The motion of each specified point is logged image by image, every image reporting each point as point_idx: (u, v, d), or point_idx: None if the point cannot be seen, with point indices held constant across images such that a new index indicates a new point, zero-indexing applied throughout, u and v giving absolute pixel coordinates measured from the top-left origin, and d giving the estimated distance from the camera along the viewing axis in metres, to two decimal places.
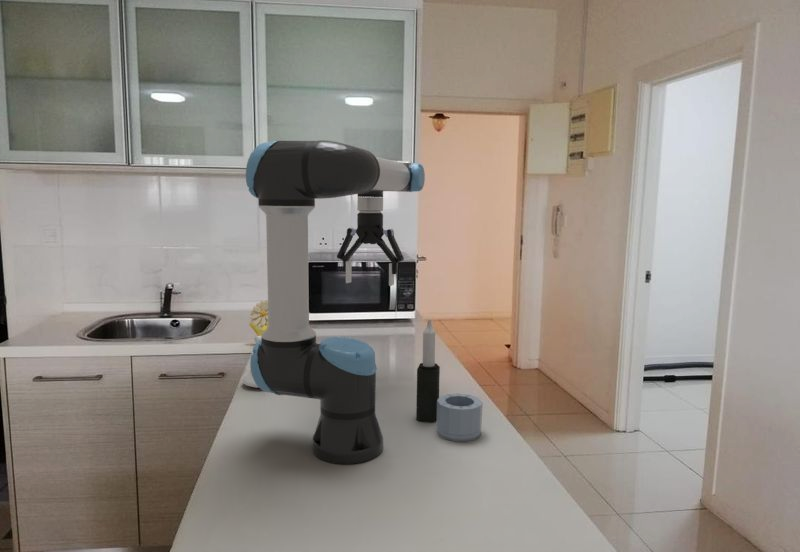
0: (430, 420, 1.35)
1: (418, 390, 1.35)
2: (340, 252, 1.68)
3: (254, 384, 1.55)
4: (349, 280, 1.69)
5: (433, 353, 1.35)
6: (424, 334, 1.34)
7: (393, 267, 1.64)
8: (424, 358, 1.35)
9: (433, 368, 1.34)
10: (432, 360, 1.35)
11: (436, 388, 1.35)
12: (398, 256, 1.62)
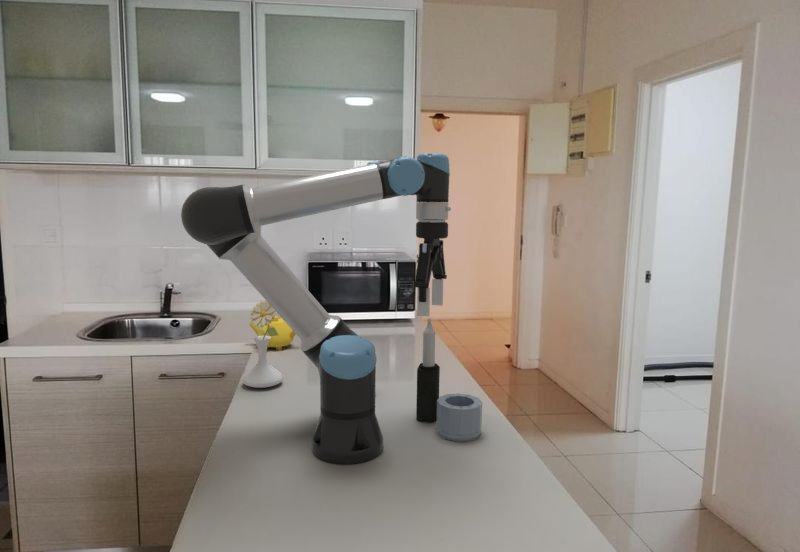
0: (430, 420, 1.35)
1: (418, 390, 1.35)
2: None
3: (254, 384, 1.55)
4: (436, 302, 1.41)
5: (433, 353, 1.35)
6: (424, 334, 1.34)
7: None
8: (424, 358, 1.35)
9: (433, 368, 1.34)
10: (432, 360, 1.35)
11: (436, 388, 1.35)
12: None
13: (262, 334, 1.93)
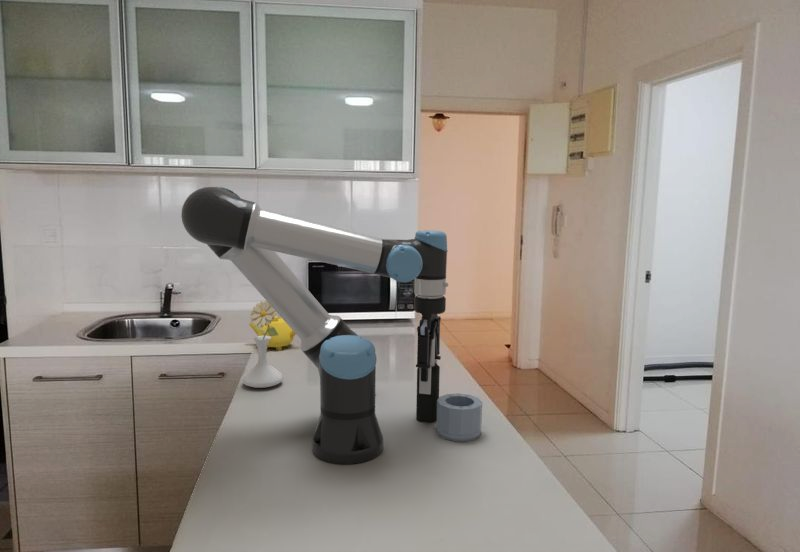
0: (430, 420, 1.35)
1: (418, 390, 1.35)
2: None
3: (254, 384, 1.55)
4: None
5: (433, 352, 1.35)
6: None
7: None
8: None
9: (433, 368, 1.34)
10: (432, 360, 1.35)
11: (436, 388, 1.35)
12: None
13: (262, 334, 1.93)
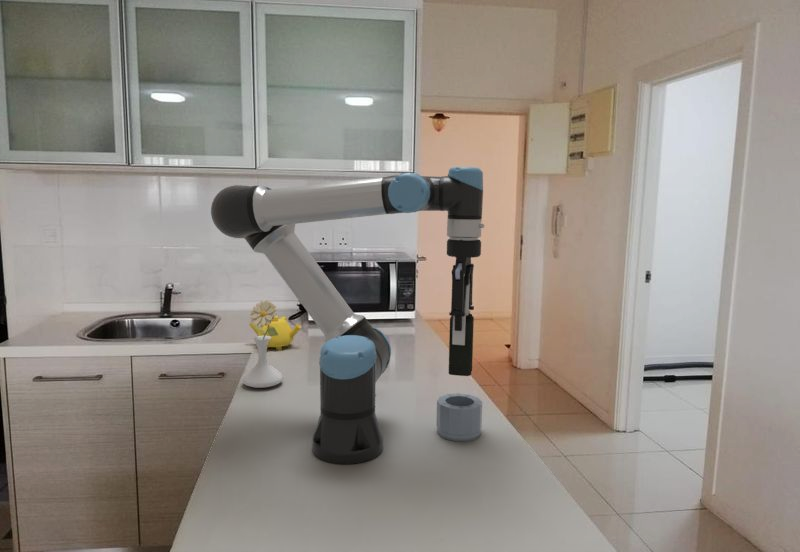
0: (464, 374, 1.25)
1: (451, 341, 1.25)
2: None
3: (254, 384, 1.55)
4: None
5: (467, 300, 1.25)
6: None
7: None
8: None
9: (467, 317, 1.24)
10: (466, 309, 1.25)
11: (471, 339, 1.24)
12: None
13: (262, 334, 1.93)
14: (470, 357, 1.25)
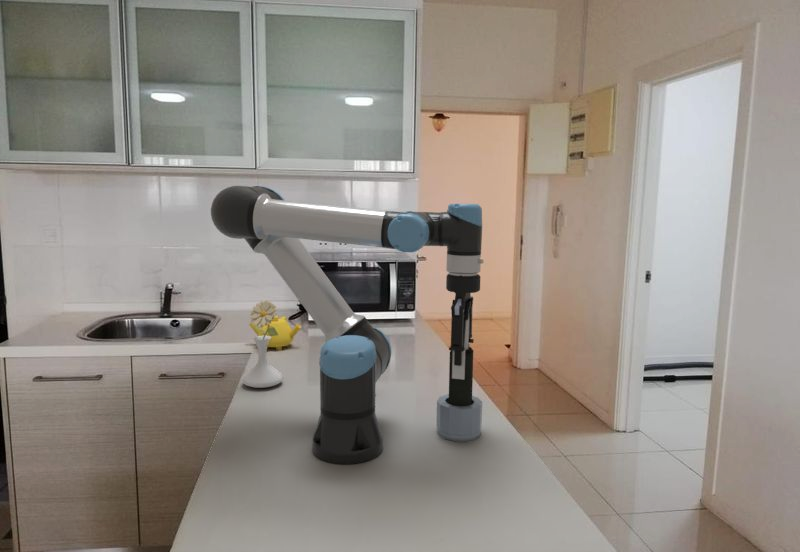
0: None
1: (451, 375, 1.26)
2: None
3: (254, 384, 1.55)
4: None
5: (467, 335, 1.26)
6: None
7: None
8: None
9: (467, 351, 1.25)
10: (466, 343, 1.26)
11: (470, 373, 1.25)
12: (451, 342, 1.22)
13: (262, 334, 1.93)
14: (470, 391, 1.26)
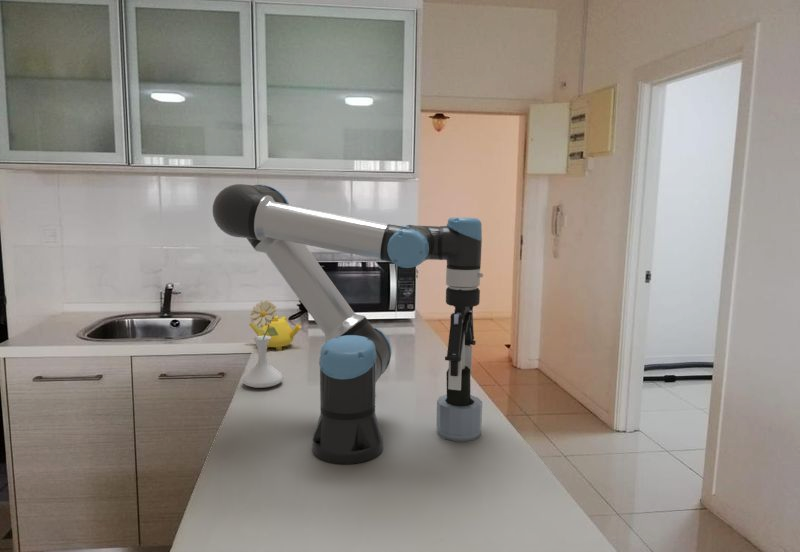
0: None
1: (448, 395, 1.27)
2: None
3: (254, 384, 1.55)
4: None
5: (462, 354, 1.27)
6: None
7: (451, 365, 1.21)
8: None
9: (463, 371, 1.26)
10: (462, 362, 1.27)
11: (467, 392, 1.26)
12: None
13: (262, 334, 1.93)
14: None
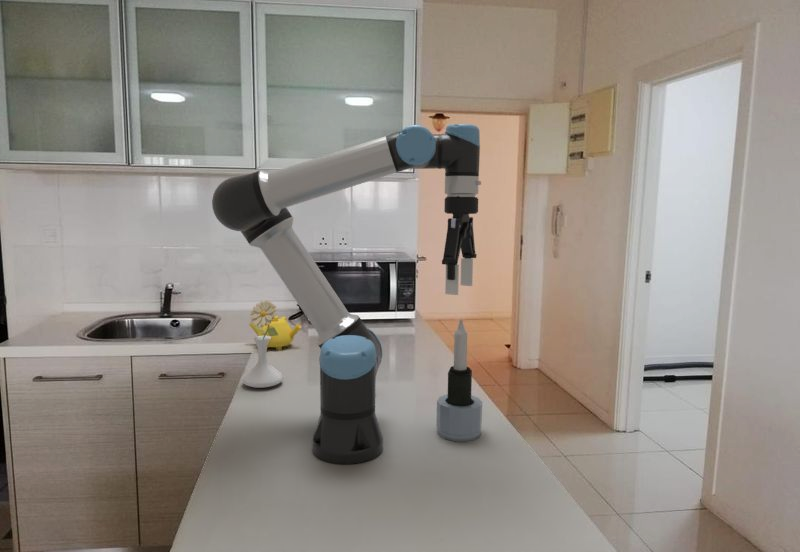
0: None
1: (449, 395, 1.27)
2: None
3: (254, 384, 1.55)
4: (465, 282, 1.34)
5: (465, 355, 1.26)
6: (455, 335, 1.26)
7: None
8: (455, 361, 1.27)
9: (465, 372, 1.26)
10: (464, 363, 1.26)
11: (468, 393, 1.26)
12: None
13: (262, 334, 1.93)
14: None
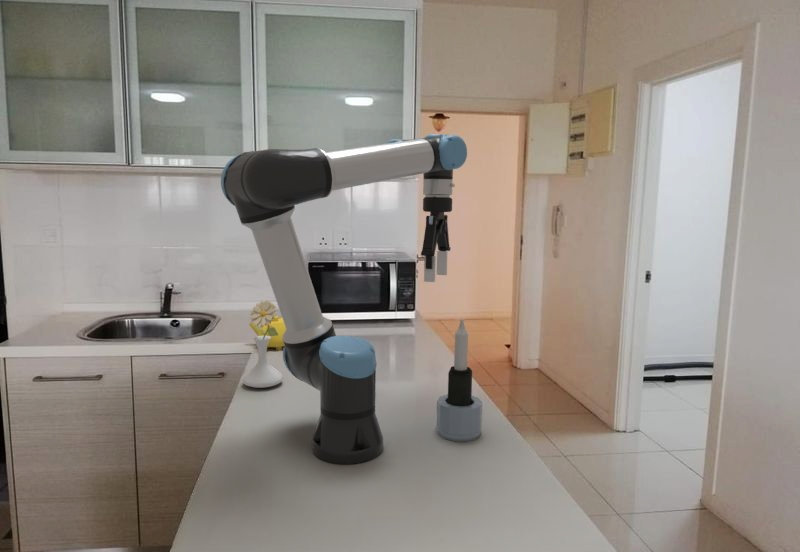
0: None
1: (449, 395, 1.27)
2: None
3: (254, 384, 1.55)
4: (440, 272, 1.54)
5: (465, 355, 1.26)
6: (456, 335, 1.26)
7: None
8: (456, 361, 1.27)
9: (466, 372, 1.26)
10: (464, 363, 1.26)
11: (469, 393, 1.26)
12: None
13: (262, 334, 1.93)
14: None
